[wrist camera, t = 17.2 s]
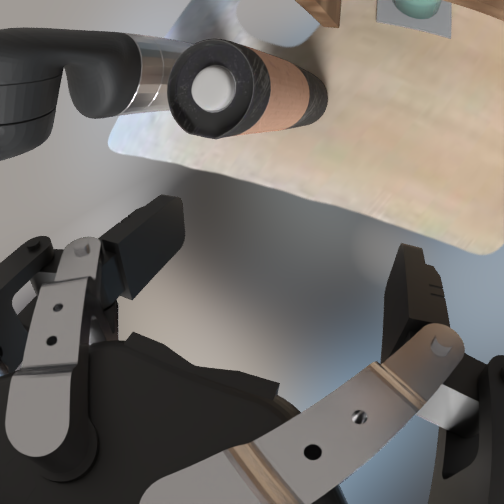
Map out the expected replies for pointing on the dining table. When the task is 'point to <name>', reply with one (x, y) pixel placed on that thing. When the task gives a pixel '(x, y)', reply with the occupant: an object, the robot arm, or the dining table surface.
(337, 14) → the brown wooden shelf stand
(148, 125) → the dining table surface
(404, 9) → the teal glossy cylinder
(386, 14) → the mat
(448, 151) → the dining table surface
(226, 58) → the travel mug
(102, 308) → the robot arm
